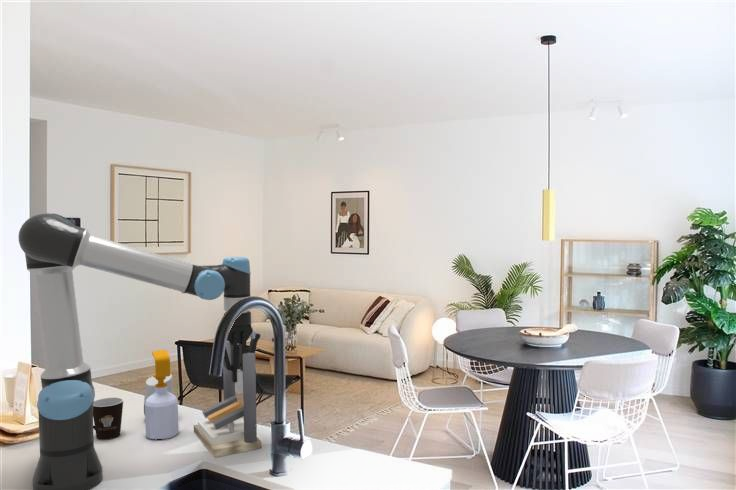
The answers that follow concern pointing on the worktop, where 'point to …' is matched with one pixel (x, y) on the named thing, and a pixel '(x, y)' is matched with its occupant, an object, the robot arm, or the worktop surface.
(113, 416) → the coffee mug
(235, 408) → the middle paddle
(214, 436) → the block
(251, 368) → the posts
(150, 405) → the soap bottle
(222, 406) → the back paddle
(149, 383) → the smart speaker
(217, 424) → the bar
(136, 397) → the worktop surface
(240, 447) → the board
